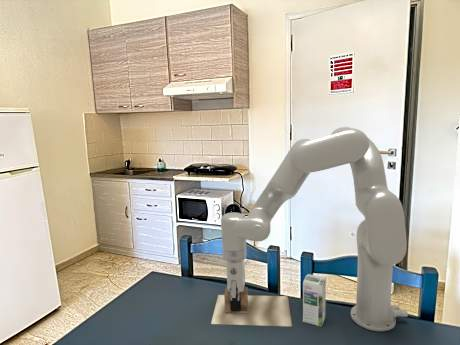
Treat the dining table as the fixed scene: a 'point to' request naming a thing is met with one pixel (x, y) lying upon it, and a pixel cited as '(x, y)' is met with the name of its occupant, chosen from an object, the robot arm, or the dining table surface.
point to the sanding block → (242, 296)
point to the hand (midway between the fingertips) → (236, 305)
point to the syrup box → (314, 299)
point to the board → (255, 312)
